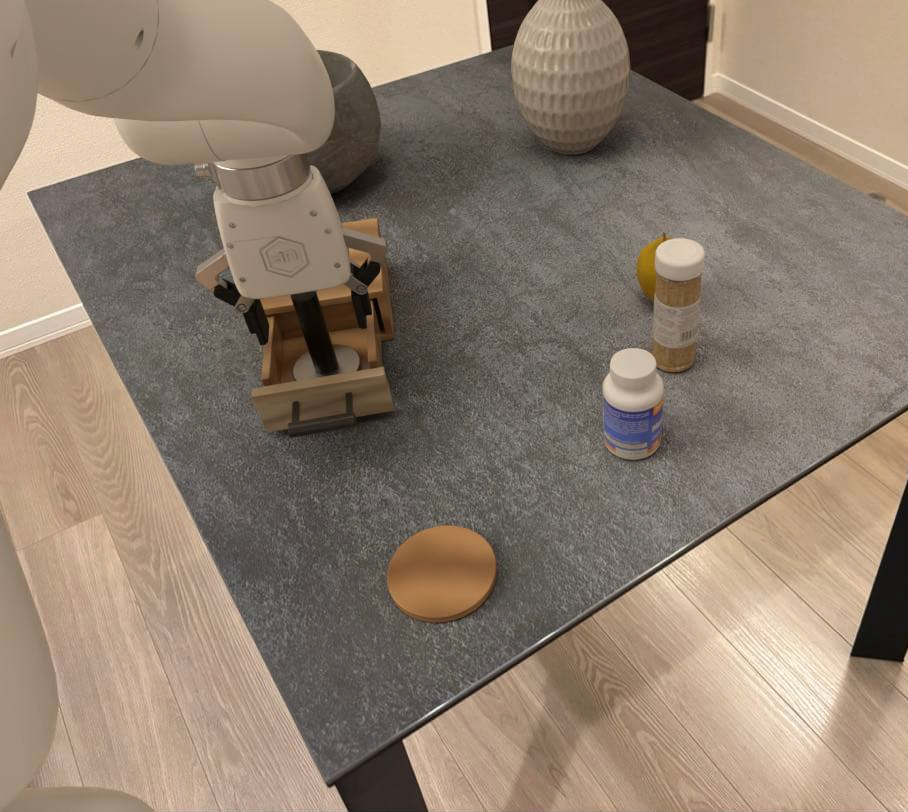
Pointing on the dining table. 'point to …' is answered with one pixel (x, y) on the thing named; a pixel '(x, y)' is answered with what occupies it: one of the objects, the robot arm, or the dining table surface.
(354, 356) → the rod on disc base
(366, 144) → the bowl
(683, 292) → the sprinkles bottle
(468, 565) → the disc
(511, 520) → the dining table surface
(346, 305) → the drawer
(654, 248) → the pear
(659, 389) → the pill bottle
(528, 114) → the vase
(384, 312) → the cabinet
